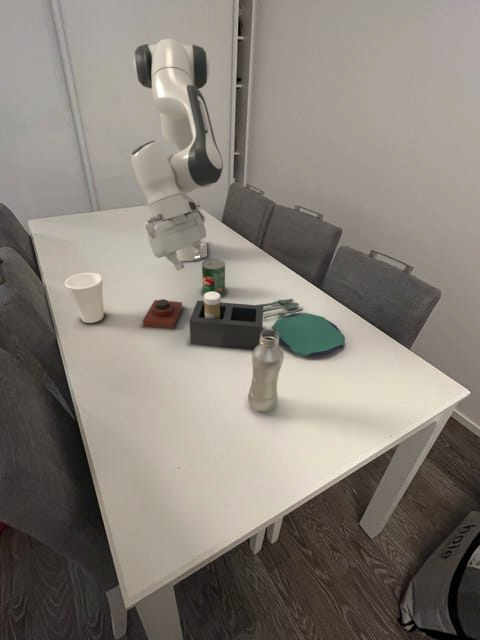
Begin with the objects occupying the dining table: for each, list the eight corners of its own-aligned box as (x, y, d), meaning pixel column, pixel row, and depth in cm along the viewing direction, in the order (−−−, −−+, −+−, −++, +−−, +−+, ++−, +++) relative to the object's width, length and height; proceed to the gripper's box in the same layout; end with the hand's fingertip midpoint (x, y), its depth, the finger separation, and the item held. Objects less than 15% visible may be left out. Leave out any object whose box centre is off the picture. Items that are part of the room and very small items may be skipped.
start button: (158, 303, 105) (158, 298, 104) (170, 304, 105) (169, 299, 104) (155, 309, 102) (154, 304, 101) (167, 310, 102) (166, 305, 101)
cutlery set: (295, 366, 88) (296, 360, 87) (248, 309, 111) (248, 303, 110) (355, 349, 95) (357, 343, 94) (299, 298, 118) (300, 293, 117)
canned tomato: (228, 289, 121) (229, 261, 115) (218, 299, 115) (218, 270, 109) (209, 284, 124) (209, 257, 118) (198, 294, 118) (197, 265, 112)
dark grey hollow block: (198, 322, 103) (197, 300, 99) (261, 328, 102) (263, 305, 98) (190, 344, 94) (189, 320, 90) (260, 350, 93) (262, 327, 89)
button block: (155, 305, 111) (154, 295, 108) (182, 307, 110) (181, 297, 108) (143, 326, 101) (141, 315, 98) (173, 329, 100) (172, 317, 98)
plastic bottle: (245, 394, 80) (250, 325, 68) (274, 393, 80) (283, 325, 69) (248, 416, 74) (254, 345, 63) (278, 415, 75) (289, 344, 64)
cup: (116, 313, 106) (109, 276, 98) (95, 330, 98) (86, 291, 91) (90, 306, 108) (81, 270, 101) (67, 323, 100) (56, 284, 93)
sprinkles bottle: (223, 336, 98) (223, 296, 91) (209, 341, 96) (208, 300, 88) (215, 328, 101) (215, 289, 94) (202, 332, 99) (200, 293, 92)
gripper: (153, 215, 74) (177, 273, 79) (199, 202, 91) (217, 251, 95) (133, 223, 78) (158, 279, 82) (182, 209, 94) (200, 256, 98)
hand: (190, 263), depth 89 cm, fingers open, 8 cm apart
